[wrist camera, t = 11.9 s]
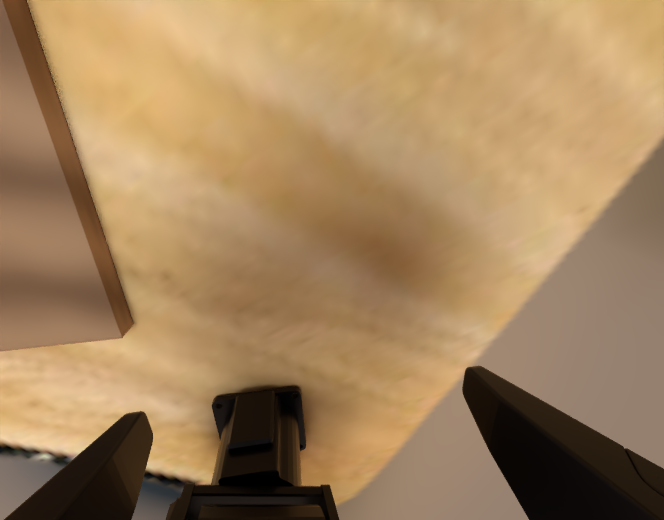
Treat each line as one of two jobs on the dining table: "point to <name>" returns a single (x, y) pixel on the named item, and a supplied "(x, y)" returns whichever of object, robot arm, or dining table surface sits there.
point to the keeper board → (46, 211)
